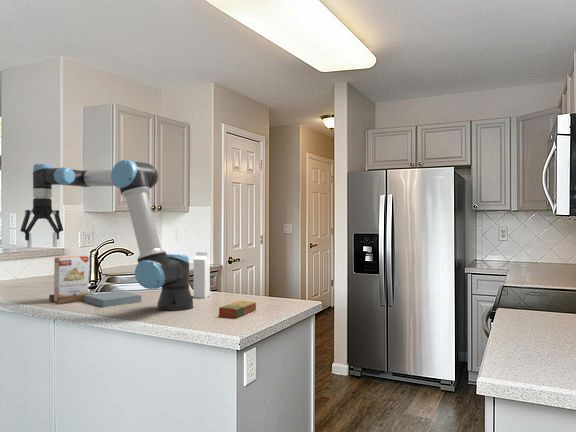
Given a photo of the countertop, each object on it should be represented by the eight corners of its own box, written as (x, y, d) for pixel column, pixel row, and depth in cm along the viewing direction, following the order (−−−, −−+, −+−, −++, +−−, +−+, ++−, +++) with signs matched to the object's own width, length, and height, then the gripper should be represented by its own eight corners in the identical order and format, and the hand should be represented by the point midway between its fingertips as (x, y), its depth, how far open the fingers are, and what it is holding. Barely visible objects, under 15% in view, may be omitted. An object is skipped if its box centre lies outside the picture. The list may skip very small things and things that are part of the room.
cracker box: (59, 303, 213) (58, 257, 213) (53, 301, 217) (53, 257, 217) (89, 299, 224) (89, 255, 224) (83, 298, 228) (83, 255, 228)
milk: (198, 296, 233) (198, 251, 234) (210, 296, 232) (209, 252, 232) (193, 297, 227) (193, 252, 228) (204, 298, 226) (204, 252, 226)
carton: (256, 311, 195) (256, 301, 195) (236, 319, 180) (236, 308, 180) (239, 310, 198) (239, 300, 198) (218, 317, 184) (218, 306, 184)
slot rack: (93, 299, 222) (93, 293, 222) (58, 304, 211) (58, 297, 211) (83, 297, 230) (83, 291, 230) (49, 301, 219) (49, 294, 219)
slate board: (141, 301, 217) (141, 295, 217) (103, 307, 204) (103, 300, 204) (120, 296, 231) (120, 290, 231) (84, 301, 218) (84, 295, 218)
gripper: (65, 199, 222) (65, 245, 222) (11, 197, 206) (11, 248, 206) (71, 198, 217) (71, 246, 217) (17, 197, 201) (17, 248, 201)
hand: (42, 247), depth 211 cm, fingers open, 10 cm apart
